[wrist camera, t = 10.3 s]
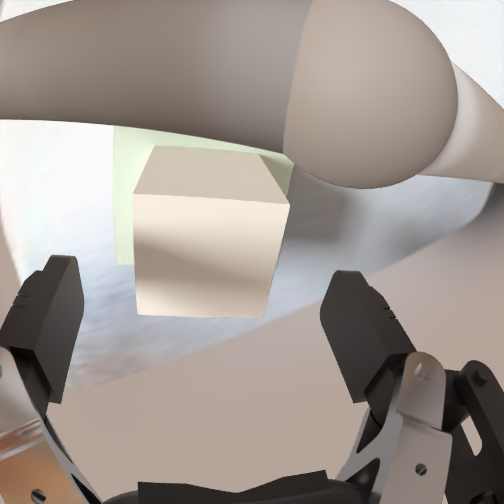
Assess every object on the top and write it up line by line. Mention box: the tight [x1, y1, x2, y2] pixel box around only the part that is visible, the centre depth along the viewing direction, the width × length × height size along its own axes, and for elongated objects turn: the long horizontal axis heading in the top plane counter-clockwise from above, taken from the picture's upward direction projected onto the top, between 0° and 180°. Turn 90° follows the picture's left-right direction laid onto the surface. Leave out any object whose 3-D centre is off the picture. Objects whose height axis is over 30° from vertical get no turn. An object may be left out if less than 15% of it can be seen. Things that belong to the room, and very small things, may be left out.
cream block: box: [133, 145, 290, 318], centre depth 14 cm, size 5×5×6 cm
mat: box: [113, 126, 294, 265], centre depth 16 cm, size 9×9×1 cm
